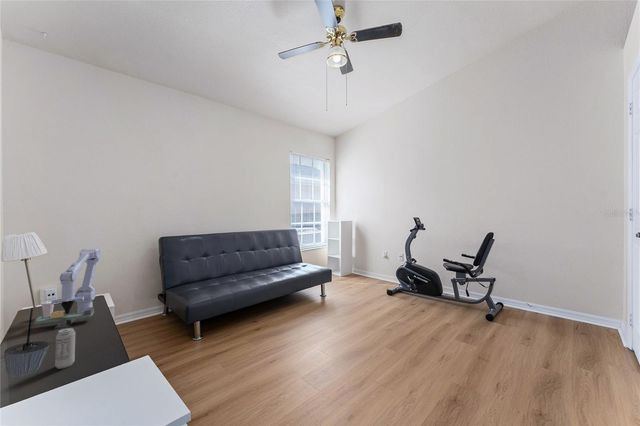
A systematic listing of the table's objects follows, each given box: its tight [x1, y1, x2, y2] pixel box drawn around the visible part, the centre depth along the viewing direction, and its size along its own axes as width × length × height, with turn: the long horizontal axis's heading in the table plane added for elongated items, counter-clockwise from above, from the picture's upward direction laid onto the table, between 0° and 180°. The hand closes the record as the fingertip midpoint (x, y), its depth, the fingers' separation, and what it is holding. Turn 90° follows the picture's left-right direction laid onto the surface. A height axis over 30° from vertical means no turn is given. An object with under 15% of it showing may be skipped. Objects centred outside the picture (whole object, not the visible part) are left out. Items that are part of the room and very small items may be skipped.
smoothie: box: [40, 295, 55, 318], centre depth 176 cm, size 6×6×14 cm
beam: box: [33, 306, 95, 326], centre depth 163 cm, size 9×25×4 cm, turn 119°
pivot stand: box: [54, 319, 76, 330], centre depth 163 cm, size 12×6×5 cm, turn 29°
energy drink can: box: [54, 327, 76, 370], centre depth 115 cm, size 6×6×15 cm
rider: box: [50, 309, 67, 319], centre depth 161 cm, size 5×6×4 cm
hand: (67, 313), depth 163 cm, fingers closed
